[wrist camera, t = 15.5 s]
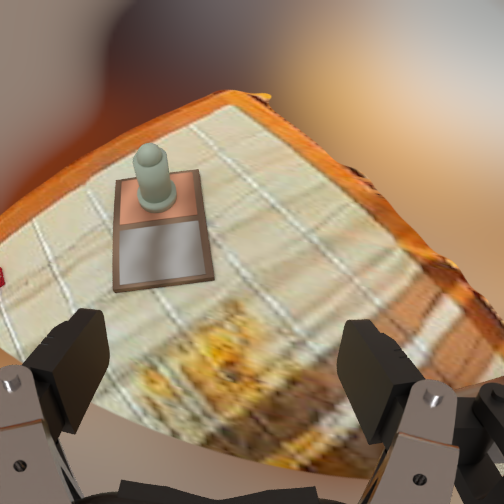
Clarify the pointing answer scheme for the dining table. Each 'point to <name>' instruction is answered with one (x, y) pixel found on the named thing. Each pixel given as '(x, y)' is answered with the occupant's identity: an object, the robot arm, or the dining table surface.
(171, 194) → the pawn
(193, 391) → the dining table surface
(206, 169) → the dining table surface
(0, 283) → the dice
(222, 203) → the dining table surface
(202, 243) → the brown flat rectangular board
